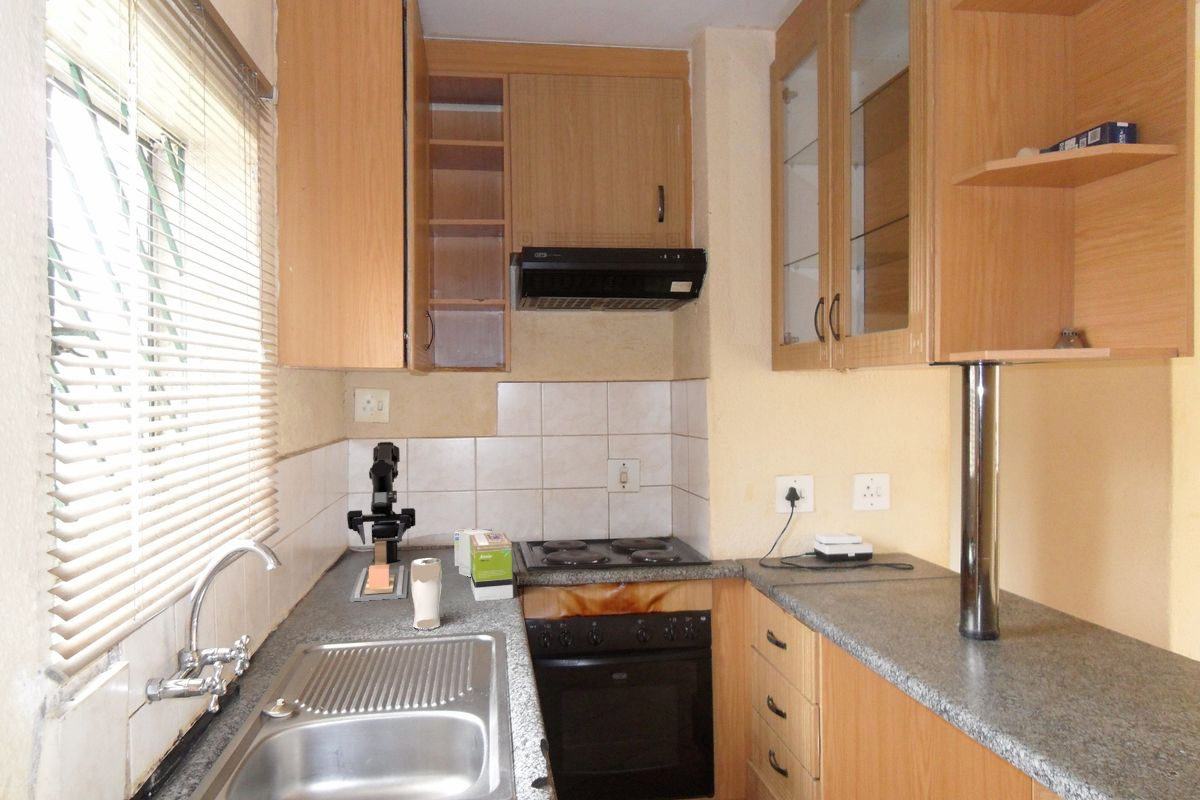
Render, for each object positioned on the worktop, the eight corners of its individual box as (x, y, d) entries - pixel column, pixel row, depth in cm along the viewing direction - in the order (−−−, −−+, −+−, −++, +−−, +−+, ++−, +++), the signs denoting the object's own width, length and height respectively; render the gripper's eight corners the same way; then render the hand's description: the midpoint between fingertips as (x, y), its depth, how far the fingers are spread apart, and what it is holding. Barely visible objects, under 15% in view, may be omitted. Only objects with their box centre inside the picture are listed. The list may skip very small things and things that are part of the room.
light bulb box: (493, 562, 244) (492, 527, 244) (488, 567, 237) (487, 531, 237) (459, 561, 245) (459, 527, 245) (453, 566, 238) (453, 531, 238)
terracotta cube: (370, 584, 208) (370, 565, 208) (389, 582, 209) (389, 564, 209) (369, 588, 203) (368, 569, 203) (388, 587, 204) (388, 568, 204)
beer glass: (415, 622, 180) (414, 557, 180) (445, 622, 180) (444, 557, 180) (407, 631, 174) (406, 564, 173) (438, 631, 173) (437, 564, 173)
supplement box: (471, 578, 223) (471, 534, 223) (458, 574, 228) (457, 531, 228) (493, 574, 228) (493, 531, 228) (479, 570, 233) (479, 528, 233)
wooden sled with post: (368, 579, 217) (368, 540, 217) (394, 578, 218) (394, 539, 218) (364, 594, 201) (364, 551, 201) (392, 592, 203) (392, 550, 203)
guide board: (358, 575, 228) (358, 568, 228) (408, 572, 231) (408, 565, 231) (349, 602, 199) (349, 593, 199) (406, 598, 202) (406, 589, 202)
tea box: (469, 588, 212) (468, 533, 212) (506, 585, 215) (505, 531, 214) (474, 602, 197) (473, 544, 197) (514, 599, 200) (513, 541, 200)
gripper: (347, 482, 221) (344, 527, 210) (414, 480, 225) (415, 524, 214) (350, 506, 229) (347, 551, 218) (415, 503, 233) (415, 547, 222)
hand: (381, 542), depth 218 cm, fingers open, 9 cm apart
